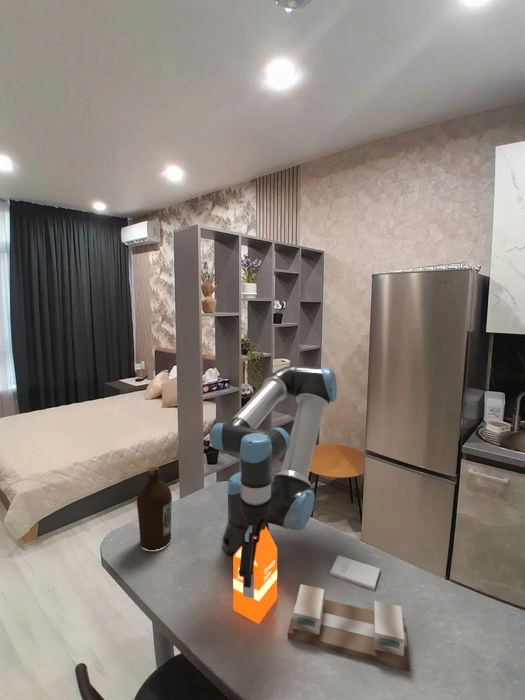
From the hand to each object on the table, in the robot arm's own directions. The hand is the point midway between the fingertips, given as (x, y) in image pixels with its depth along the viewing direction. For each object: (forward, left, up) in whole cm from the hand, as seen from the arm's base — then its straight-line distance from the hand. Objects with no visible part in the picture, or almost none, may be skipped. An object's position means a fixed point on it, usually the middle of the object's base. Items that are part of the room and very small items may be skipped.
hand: (255, 580), depth 92 cm
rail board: (+23, -1, -7) cm, 24 cm away
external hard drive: (+24, +19, -8) cm, 32 cm away
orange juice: (0, 0, -7) cm, 7 cm away
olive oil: (-38, +14, -7) cm, 41 cm away
